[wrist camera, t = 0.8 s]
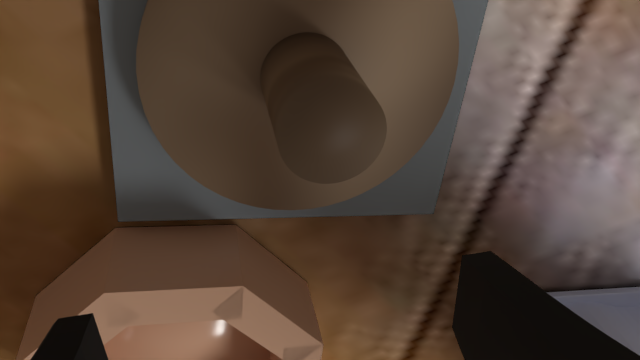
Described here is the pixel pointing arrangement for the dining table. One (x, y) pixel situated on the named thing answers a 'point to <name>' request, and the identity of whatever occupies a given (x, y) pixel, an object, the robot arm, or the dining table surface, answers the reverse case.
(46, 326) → the bowl
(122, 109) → the mat
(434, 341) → the dining table surface
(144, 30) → the lid
